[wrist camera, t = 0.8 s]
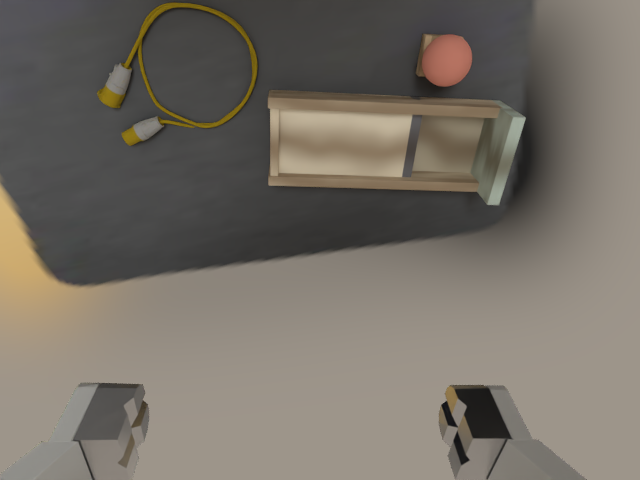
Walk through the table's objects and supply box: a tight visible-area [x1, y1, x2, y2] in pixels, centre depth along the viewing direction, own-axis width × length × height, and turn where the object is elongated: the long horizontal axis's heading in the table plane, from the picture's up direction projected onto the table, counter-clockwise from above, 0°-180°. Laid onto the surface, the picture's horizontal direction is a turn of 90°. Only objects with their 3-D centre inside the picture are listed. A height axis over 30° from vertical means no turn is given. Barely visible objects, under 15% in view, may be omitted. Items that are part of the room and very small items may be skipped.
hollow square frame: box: [416, 34, 464, 77], centre depth 42 cm, size 4×4×1 cm
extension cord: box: [97, 2, 258, 146], centre depth 42 cm, size 12×16×2 cm
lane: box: [268, 90, 526, 205], centre depth 44 cm, size 9×24×6 cm, turn 87°
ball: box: [422, 34, 472, 87], centre depth 40 cm, size 4×4×4 cm
